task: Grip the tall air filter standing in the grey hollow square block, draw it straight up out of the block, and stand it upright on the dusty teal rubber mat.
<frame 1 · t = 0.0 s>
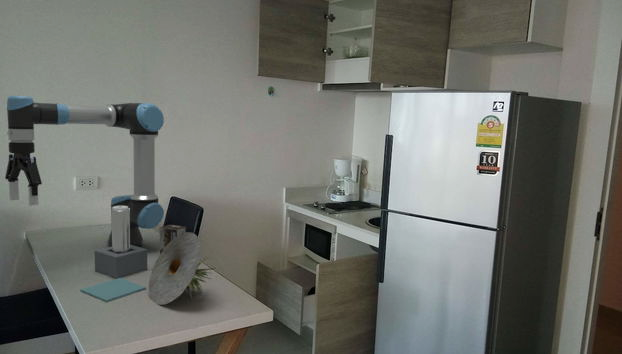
hand: (23, 202, 162), 28 cm above the table, tool pointing down, fingers open, 13 cm apart
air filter: (121, 270, 180), resting in grey hollow square block
coffee box: (173, 266, 187), on the table
grey hollow square block: (121, 270, 180), on the table
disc: (182, 296, 156), on the table
teal mat: (113, 290, 159), on the table
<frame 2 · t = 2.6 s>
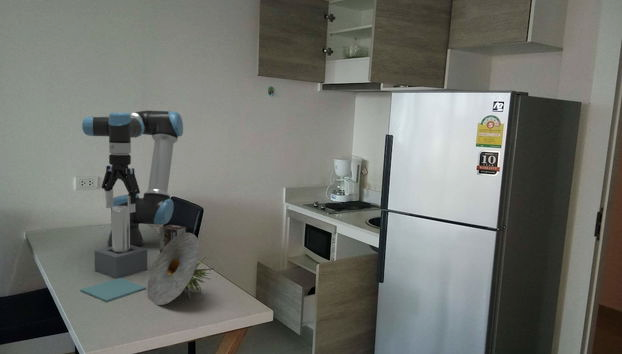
hand: (120, 210, 176), 24 cm above the table, tool pointing down, fingers open, 13 cm apart
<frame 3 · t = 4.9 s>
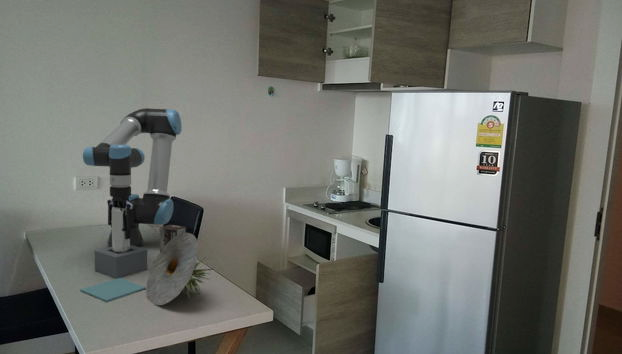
hand: (121, 245, 178), 10 cm above the table, tool pointing down, fingers closed on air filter, 6 cm apart
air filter: (121, 270, 180), resting in grey hollow square block, touching gripper
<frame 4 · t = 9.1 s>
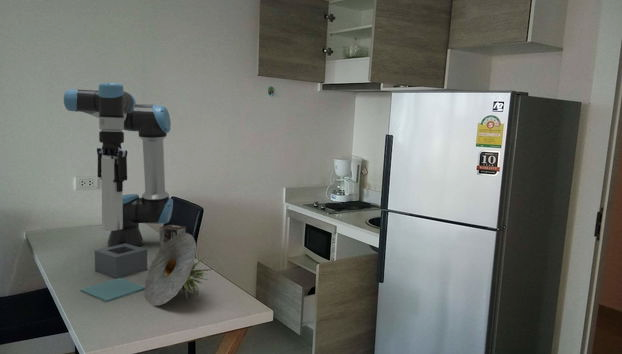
hand: (112, 200, 156), 31 cm above the table, tool pointing down, fingers closed on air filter, 6 cm apart
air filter: (112, 229, 157), point 21 cm above the table, touching gripper
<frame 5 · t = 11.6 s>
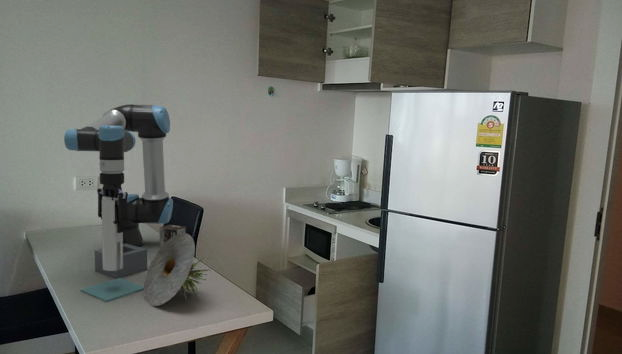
hand: (112, 240, 157), 18 cm above the table, tool pointing down, fingers closed on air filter, 6 cm apart
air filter: (113, 268, 158), point 8 cm above the table, touching gripper
when the fingers open (12 cm above the table, at t = 13.6 s): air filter drops 1 cm, resting on teal mat.
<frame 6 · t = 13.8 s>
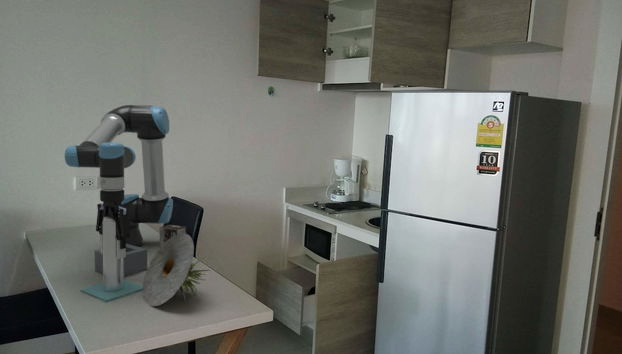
hand: (113, 255, 158), 12 cm above the table, tool pointing down, fingers open, 8 cm apart
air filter: (113, 288, 159), resting on teal mat
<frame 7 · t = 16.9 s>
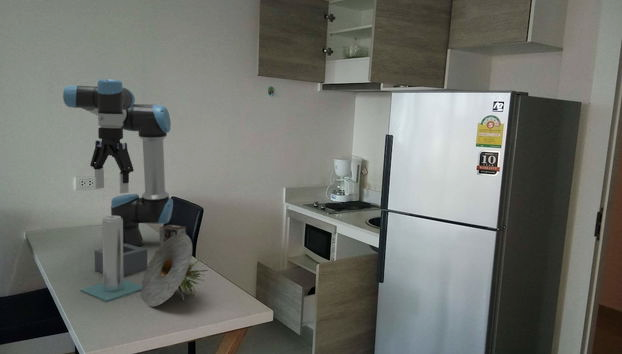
hand: (111, 190, 156), 34 cm above the table, tool pointing down, fingers open, 13 cm apart
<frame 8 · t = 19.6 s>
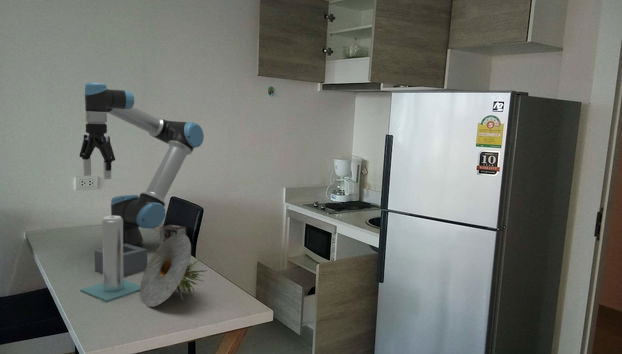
hand: (97, 177, 183), 35 cm above the table, tool pointing down, fingers open, 13 cm apart
at the end: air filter inside the target area on the teal mat (0.0 cm from its centre), point 0.4 cm above the teal mat's base; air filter tilted 0°; the gripper is holding nothing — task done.
